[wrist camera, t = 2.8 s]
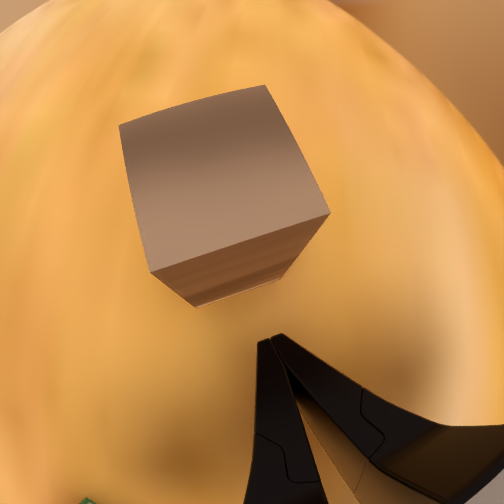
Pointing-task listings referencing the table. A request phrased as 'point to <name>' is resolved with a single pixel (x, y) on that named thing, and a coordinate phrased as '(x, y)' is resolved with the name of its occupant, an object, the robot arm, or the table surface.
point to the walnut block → (220, 194)
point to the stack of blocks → (86, 501)
